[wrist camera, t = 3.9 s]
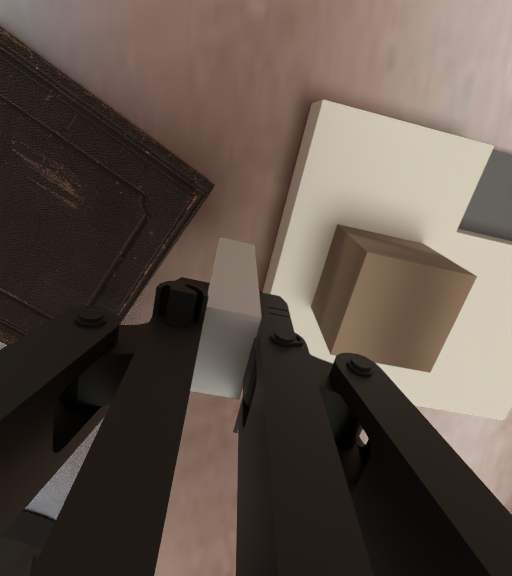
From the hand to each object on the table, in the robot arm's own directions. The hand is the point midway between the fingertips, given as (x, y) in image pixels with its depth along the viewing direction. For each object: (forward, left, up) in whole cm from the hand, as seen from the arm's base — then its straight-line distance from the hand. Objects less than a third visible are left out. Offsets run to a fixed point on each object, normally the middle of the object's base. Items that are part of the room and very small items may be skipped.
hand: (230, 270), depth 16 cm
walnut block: (+8, 0, -4) cm, 9 cm away
